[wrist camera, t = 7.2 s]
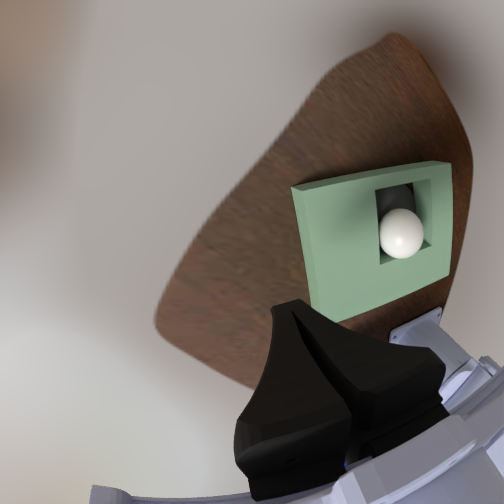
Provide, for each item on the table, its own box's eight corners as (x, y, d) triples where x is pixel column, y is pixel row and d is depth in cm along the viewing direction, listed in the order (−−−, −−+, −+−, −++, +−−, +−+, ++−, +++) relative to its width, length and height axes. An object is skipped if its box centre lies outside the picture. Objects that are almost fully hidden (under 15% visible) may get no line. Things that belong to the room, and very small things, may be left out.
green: (433, 265, 24) (448, 274, 22) (312, 311, 23) (322, 327, 21) (432, 160, 20) (450, 163, 18) (290, 186, 19) (301, 191, 17)
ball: (390, 273, 19) (361, 240, 21) (420, 263, 20) (392, 234, 22) (411, 232, 16) (376, 200, 19) (439, 226, 17) (408, 197, 20)
